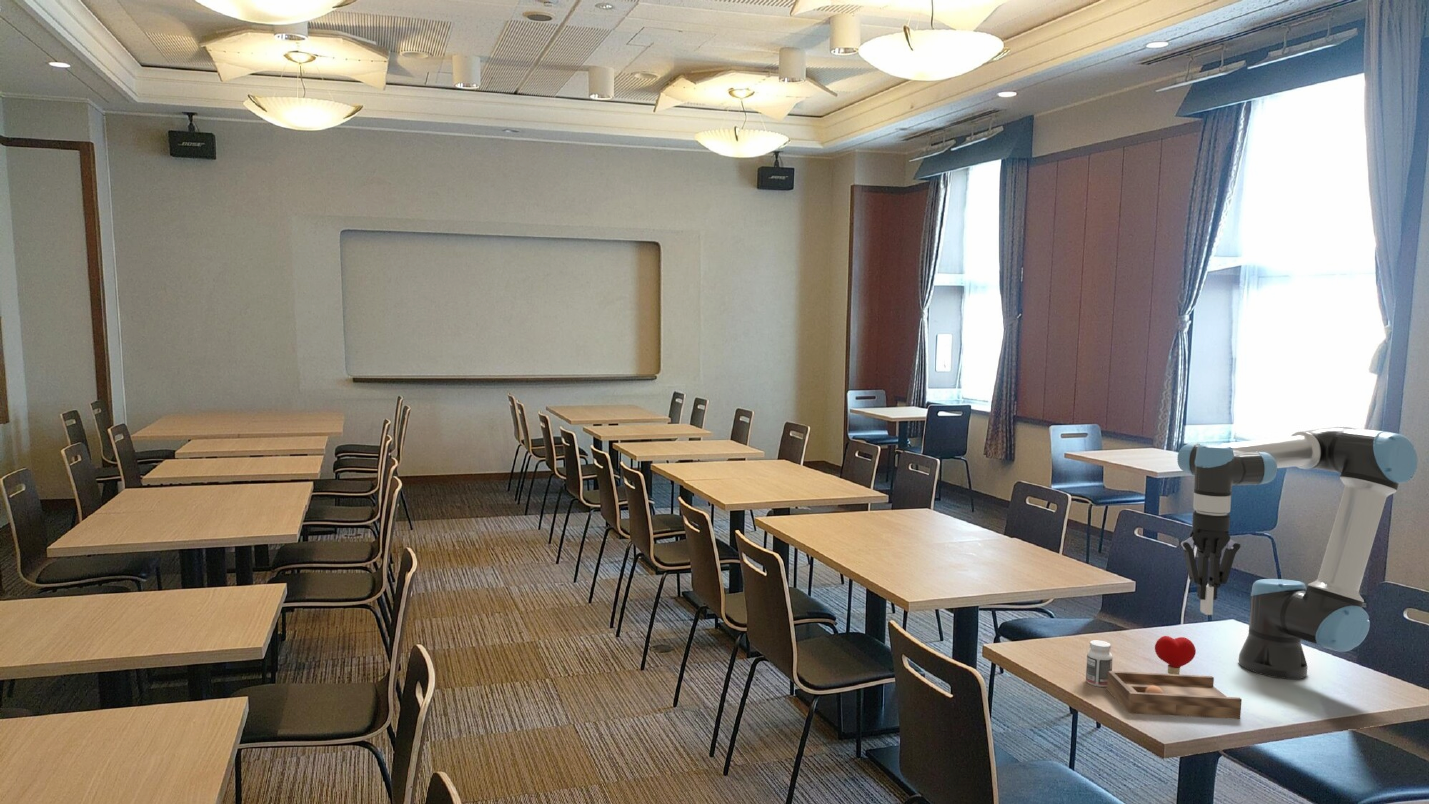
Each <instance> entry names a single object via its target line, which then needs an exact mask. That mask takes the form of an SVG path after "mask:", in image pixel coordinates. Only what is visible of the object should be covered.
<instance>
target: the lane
mask: <svg viewBox="0 0 1429 804" xmlns="http://www.w3.org/2000/svg"><path fill="white" fill-rule="evenodd" d="M1214 680H1215V678H1214V677H1213V676H1211V675H1197V674H1196V675H1195V674H1192V675H1191V674H1180V673H1179V674H1168V673H1159V672H1157V673H1153V672H1141V671H1140V672H1138V671H1134V672H1133V671H1120V670H1112V671H1108V679H1107V687H1106V690H1107V691H1108V692H1109V694H1110V695H1112V696H1113V698H1115V700H1116V701H1117V702H1119V704H1120V705H1121V706H1122V707H1123V708H1124V709H1125V710H1126V711H1127V713H1129V714H1139V715H1154V716H1155V715H1157V716H1159V715H1161V716H1174V717H1175V716H1177V717H1195V718H1197V717H1198V718H1213V719H1214V718H1215V719H1229V720H1230V719H1231V720H1232V719H1234V720H1240V719H1241V715H1242V713H1241V712H1242V698H1240V697H1237V696H1235V697H1233V696H1227V695H1225V694H1224V693H1223V692H1222V691H1220V690H1219V689H1218V688H1217V687H1215V686H1214ZM1149 686H1157V687H1159V688H1160V689H1161V690H1162V691H1163V693H1164V694H1162V693H1145V690H1146V689H1147V688H1148V687H1149Z"/></svg>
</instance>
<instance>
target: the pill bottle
mask: <svg viewBox="0 0 1429 804" xmlns="http://www.w3.org/2000/svg"><path fill="white" fill-rule="evenodd" d="M1089 648H1090V649H1089V650H1088V651H1087V653H1086V655H1087V656H1086V671H1085V681H1086V683H1088V684H1089V685H1091V686H1094V687H1098V688H1107V679H1108V671H1113V654H1112V653H1111V652H1110V651H1111V649H1112V645H1111V643H1110V642H1107V641H1105V640H1096V639H1094V640H1093V639H1092V640H1090V642H1089Z"/></svg>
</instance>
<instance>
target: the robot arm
mask: <svg viewBox="0 0 1429 804" xmlns="http://www.w3.org/2000/svg"><path fill="white" fill-rule="evenodd" d="M1417 453H1418V452H1417V450H1416V448H1415V446H1414V444H1413V442H1412V441H1411V440H1410V439H1409V438H1408V437H1407V436H1405V435H1404V434H1401V433H1397V432H1396V433H1395V432H1390V431H1386V430H1373V429H1364V428H1353V427H1347V426H1345V427H1344V426H1343V427H1342V426H1336V427H1327V428H1320V429H1319V428H1318V429H1312V430H1303V431H1297V432H1295V433H1293V434H1292V435H1291V436H1290V435H1289V436H1285V437H1274V438H1265V439H1254V440H1245V441H1236V442H1227V443H1226V442H1225V443H1215V444H1214V443H1204V444H1200V443H1187V444H1185V445H1182V447H1181V448H1180V449H1179V451H1178V454H1177V466H1178V467H1179V469H1180V470H1181V471H1182V472H1184V473H1187V474H1190V475H1192V476H1194V486H1193V487H1194V489H1193V504H1192V505H1193V507H1192V508H1193V509H1194V511H1193V512H1192V521H1191V522H1192V524H1191V525H1192V527H1191V528H1192V531H1191V533H1190V534H1189V538H1187V539H1186V540H1179V546H1180V547H1181V549H1182V550H1183V554H1184V559H1185V565H1186V569H1187V574H1188V579H1189V580H1190V581H1191V582H1192V583H1194V584H1197V592H1196V595H1197V596H1196V597H1197V598H1198V599H1200V606H1199V607H1200V608H1199V611H1200V613H1202V614H1203V615H1206V616H1213V613H1214V612H1213V611H1214V610H1213V609H1214V601H1216V600H1217V598H1218V588H1221V585H1226V584H1227V582H1228V580H1229V577H1230V573H1231V570H1232V568H1233V567H1232V566H1233V563H1234V560H1235V557H1236V554H1237V552H1239V550H1240V549H1241V544H1240V543H1238V542H1236V541H1234V540H1232V539H1231V535H1230V532H1229V531H1230V528H1231V527H1230V526H1231V525H1230V524H1231V523H1230V522H1231V515H1230V514H1229V513H1230V512H1231V506H1232V505H1231V504H1232V491H1233V490H1232V487H1234V486H1259V485H1263V484H1264V485H1266V484H1269V483H1270V482H1272V481H1274V479H1275V478H1276V476H1277V473H1278V469H1284V468H1293V467H1297V468H1298V469H1302V470H1310V469H1311V470H1313V469H1315V470H1321V471H1329V472H1334V473H1338V474H1340V476H1339V479H1340V482H1341V483H1342V484H1343V485H1344V488H1343V492H1342V495H1341V499H1340V502H1339V506H1338V509H1337V512H1336V515H1335V520H1334V521H1333V526H1332V528H1331V532H1330V536H1329V539H1328V542H1327V545H1326V548H1325V549H1326V550H1325V552H1324V555H1323V559H1322V561H1321V566H1320V569H1319V572H1318V576H1317V579H1316V580H1314V581H1312V582H1309V583H1308V584H1307V586H1306V583H1304V582H1303V581H1300V580H1299V581H1298V580H1292V579H1280V578H1279V579H1278V578H1264V579H1262V578H1261V579H1258V580H1257V579H1256V580H1255V581H1254V582H1253V584H1252V587H1251V594H1250V602H1249V603H1250V605H1249V606H1250V607H1249V621H1248V635H1247V636H1246V640H1245V641H1244V643H1243V645H1242V647H1241V650H1240V652H1239V654H1238V664H1239V665H1240V666H1241V667H1243V668H1245V669H1246V670H1248V671H1251V672H1253V673H1256V674H1258V675H1259V674H1260V675H1262V676H1263V675H1264V676H1267V677H1273V678H1278V679H1287V680H1291V679H1294V680H1296V679H1297V680H1298V679H1303V678H1305V677H1307V675H1308V663H1307V660H1306V656H1305V652H1304V650H1303V647H1302V641H1306V642H1308V643H1312V644H1315V645H1317V646H1319V647H1320V648H1324V649H1328V650H1331V651H1334V652H1335V651H1336V652H1341V653H1342V652H1349V651H1352V650H1353V649H1355V648H1357V647H1358V646H1360V645H1361V644H1362V642H1363V641H1365V638H1366V637H1367V635H1368V633H1369V630H1370V626H1371V625H1370V624H1371V621H1370V620H1369V619H1370V616H1369V614H1368V612H1367V611H1366V610H1365V609H1364V608H1363V605H1364V602H1365V601H1364V598H1363V597H1362V596H1361V594H1360V588H1361V584H1362V582H1363V578H1364V574H1365V572H1366V569H1367V564H1368V562H1369V561H1368V560H1369V558H1370V555H1371V553H1372V552H1371V551H1372V548H1373V544H1374V542H1375V537H1376V535H1377V531H1378V529H1379V528H1378V527H1379V524H1380V520H1381V517H1382V515H1383V511H1384V507H1385V503H1386V500H1387V498H1388V497H1389V496H1390V495H1393V494H1395V493H1397V490H1398V487H1399V485H1400V484H1404V483H1407V482H1409V481H1410V480H1411V479H1412V478H1414V476H1415V474H1416V472H1417V468H1418V463H1419V462H1418V454H1417ZM1194 546H1195V547H1196V549H1197V550H1196V551H1197V560H1196V557H1195V552H1194V550H1193V549H1194ZM1225 547H1226V548H1225ZM1223 549H1224V552H1223ZM1222 553H1223V556H1222Z"/></svg>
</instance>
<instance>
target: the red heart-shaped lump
mask: <svg viewBox="0 0 1429 804" xmlns="http://www.w3.org/2000/svg"><path fill="white" fill-rule="evenodd" d="M1154 651H1155V654H1156V656H1157V657H1158V658H1159V659H1160V660H1161V661H1162V662H1164V663H1166V664H1167V674H1179V675H1180V673H1181V672H1180V670H1181V667H1184V666H1185V665H1187V664H1189V663H1190V662H1192V661H1193V659H1194V658H1195V656H1196V652H1197V651H1196V647H1195V644H1194V643H1193V642H1192V641H1191V639H1189V638H1187V637H1185V636H1183V637H1182V636H1181V637H1176V638H1173V637H1171V636H1168V635H1163V636H1161V637H1159V639H1157V641H1156V642H1155V644H1154Z"/></svg>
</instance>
